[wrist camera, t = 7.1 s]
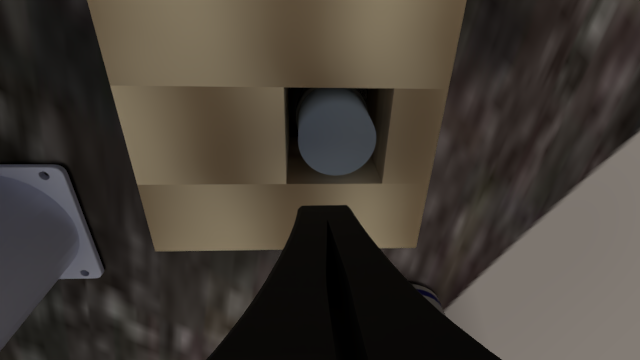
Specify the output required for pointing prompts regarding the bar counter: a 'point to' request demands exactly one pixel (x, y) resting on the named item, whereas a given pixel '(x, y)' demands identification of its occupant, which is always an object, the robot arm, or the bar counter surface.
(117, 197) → the bar counter surface
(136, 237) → the bar counter surface
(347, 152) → the blue peg
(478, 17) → the bar counter surface
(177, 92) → the beech block
